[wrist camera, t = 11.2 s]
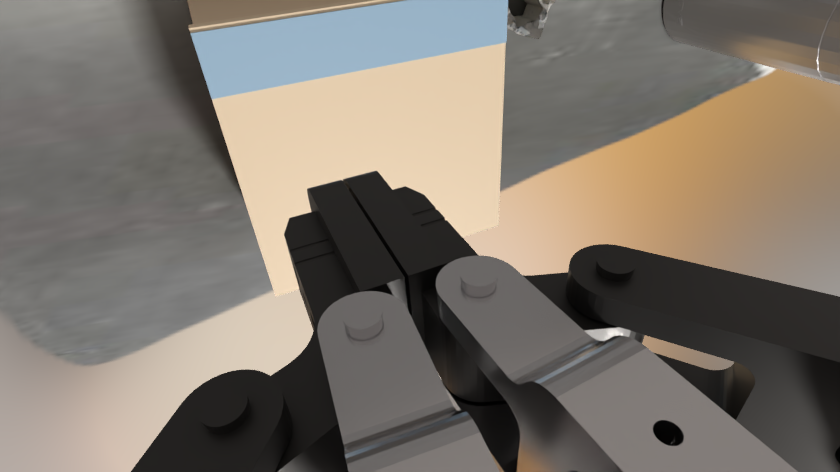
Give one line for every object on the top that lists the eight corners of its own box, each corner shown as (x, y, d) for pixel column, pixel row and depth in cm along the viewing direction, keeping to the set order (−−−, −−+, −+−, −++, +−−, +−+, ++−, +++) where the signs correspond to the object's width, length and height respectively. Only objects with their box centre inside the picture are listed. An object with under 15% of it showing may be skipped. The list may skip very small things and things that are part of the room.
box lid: (500, -22, 27) (508, -20, 26) (492, 220, 36) (499, 226, 36) (188, 24, 22) (188, 28, 21) (273, 289, 32) (276, 297, 31)
